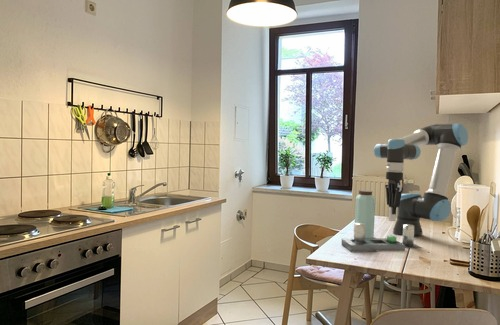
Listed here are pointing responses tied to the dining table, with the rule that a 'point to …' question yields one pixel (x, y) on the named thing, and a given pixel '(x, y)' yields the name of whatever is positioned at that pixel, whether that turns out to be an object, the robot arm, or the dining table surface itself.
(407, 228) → the billet
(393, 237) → the button
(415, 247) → the pad
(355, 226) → the cylinder
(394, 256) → the dining table surface
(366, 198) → the water bottle
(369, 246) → the tray
